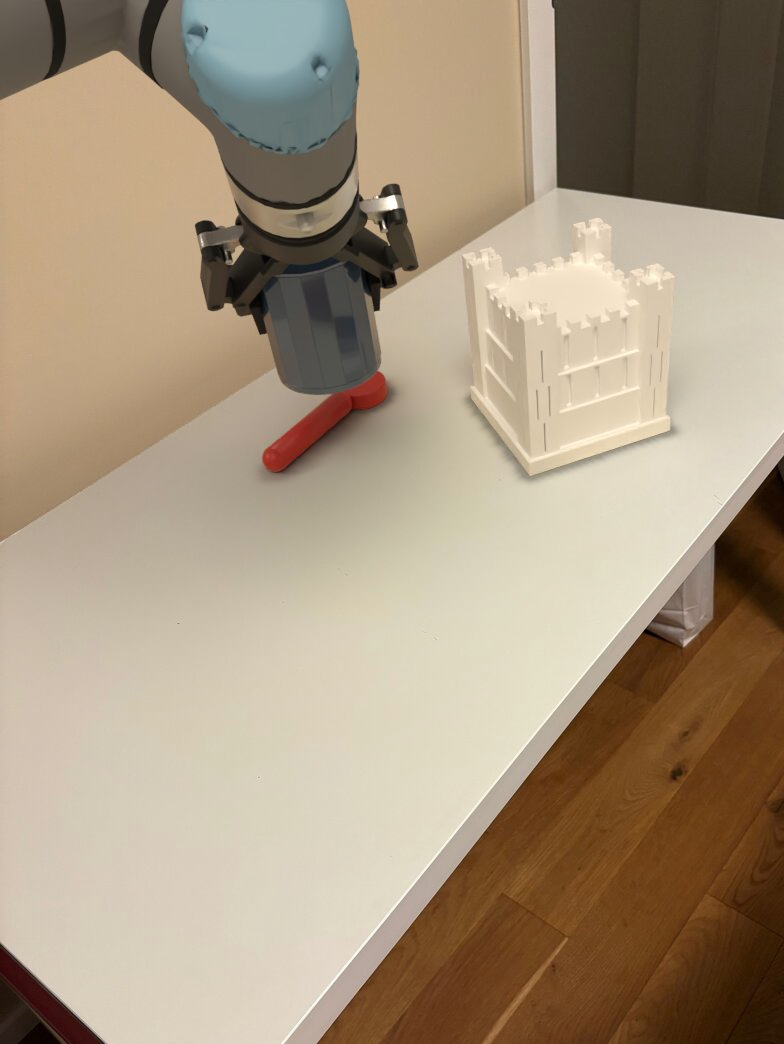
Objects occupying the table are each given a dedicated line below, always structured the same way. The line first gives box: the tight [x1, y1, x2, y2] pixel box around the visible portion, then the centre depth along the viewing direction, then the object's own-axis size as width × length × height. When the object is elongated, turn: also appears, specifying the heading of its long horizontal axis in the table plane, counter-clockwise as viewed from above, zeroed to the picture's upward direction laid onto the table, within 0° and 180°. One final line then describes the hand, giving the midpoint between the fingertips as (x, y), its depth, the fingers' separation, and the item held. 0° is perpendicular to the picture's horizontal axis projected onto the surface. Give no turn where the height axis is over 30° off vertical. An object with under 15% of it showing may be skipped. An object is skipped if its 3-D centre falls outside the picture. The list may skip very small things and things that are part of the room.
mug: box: [257, 257, 382, 396], centre depth 77 cm, size 13×9×10 cm, turn 13°
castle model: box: [461, 217, 676, 477], centre depth 86 cm, size 14×14×15 cm
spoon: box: [261, 370, 388, 473], centre depth 93 cm, size 17×5×2 cm, turn 147°
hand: (316, 306), depth 78 cm, fingers closed on mug, 9 cm apart
